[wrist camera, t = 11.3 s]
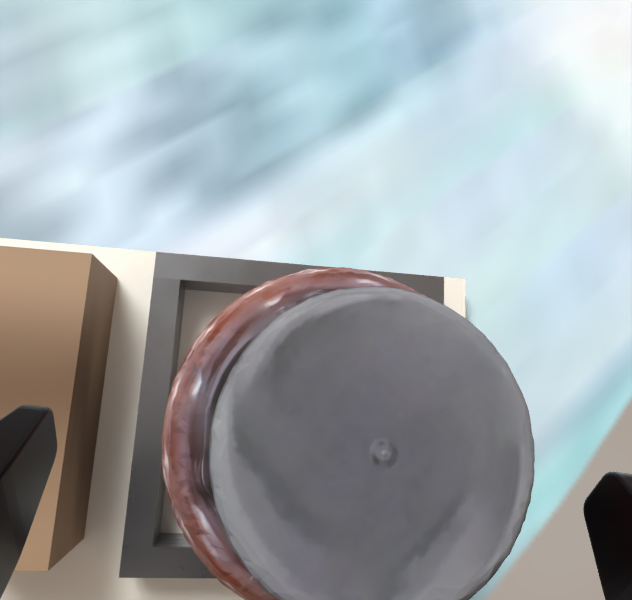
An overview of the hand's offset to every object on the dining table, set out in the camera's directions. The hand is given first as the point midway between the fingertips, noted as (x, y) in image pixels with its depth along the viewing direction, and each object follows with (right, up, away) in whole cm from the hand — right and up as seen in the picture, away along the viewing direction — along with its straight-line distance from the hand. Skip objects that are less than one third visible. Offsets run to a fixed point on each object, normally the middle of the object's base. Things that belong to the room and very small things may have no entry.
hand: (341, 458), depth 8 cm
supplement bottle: (-1, -1, +9) cm, 9 cm away
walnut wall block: (-9, -1, +9) cm, 12 cm away
